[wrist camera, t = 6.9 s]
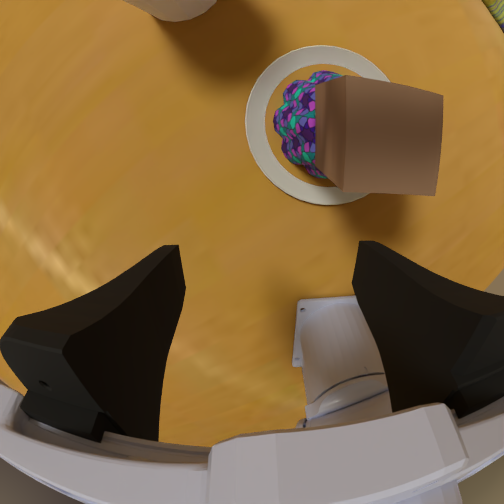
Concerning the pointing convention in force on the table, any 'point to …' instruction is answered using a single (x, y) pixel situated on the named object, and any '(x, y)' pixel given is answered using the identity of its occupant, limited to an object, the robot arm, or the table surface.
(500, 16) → the dish towel
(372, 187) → the walnut block
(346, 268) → the table surface
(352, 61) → the pudding
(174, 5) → the white tapered cup
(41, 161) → the table surface
